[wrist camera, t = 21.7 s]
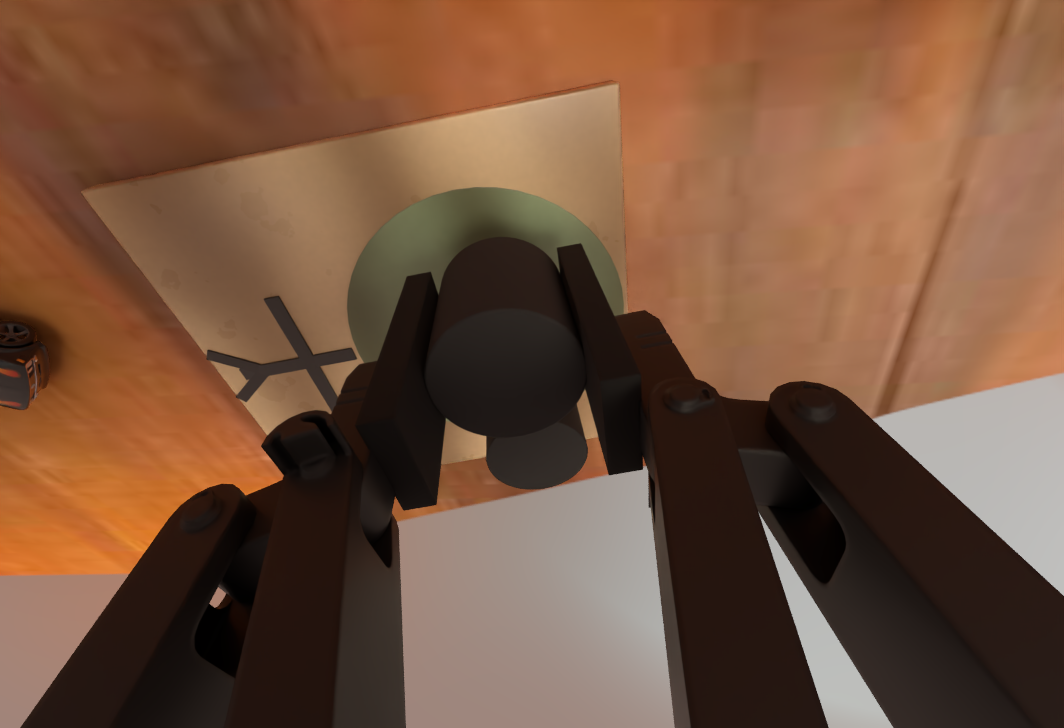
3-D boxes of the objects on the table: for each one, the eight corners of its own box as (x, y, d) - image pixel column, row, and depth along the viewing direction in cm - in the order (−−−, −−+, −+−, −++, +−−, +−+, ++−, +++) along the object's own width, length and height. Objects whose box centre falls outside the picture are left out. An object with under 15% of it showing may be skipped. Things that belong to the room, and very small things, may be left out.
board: (312, 477, 25) (307, 490, 24) (95, 185, 15) (76, 192, 14) (628, 421, 24) (633, 432, 23) (614, 80, 14) (621, 82, 14)
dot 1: (424, 249, 13) (399, 327, 10) (554, 224, 13) (580, 293, 9) (458, 355, 16) (449, 450, 12) (569, 335, 15) (594, 424, 12)
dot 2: (496, 422, 22) (498, 496, 18) (477, 359, 20) (475, 431, 16) (574, 407, 22) (591, 480, 18) (565, 343, 19) (583, 412, 16)
